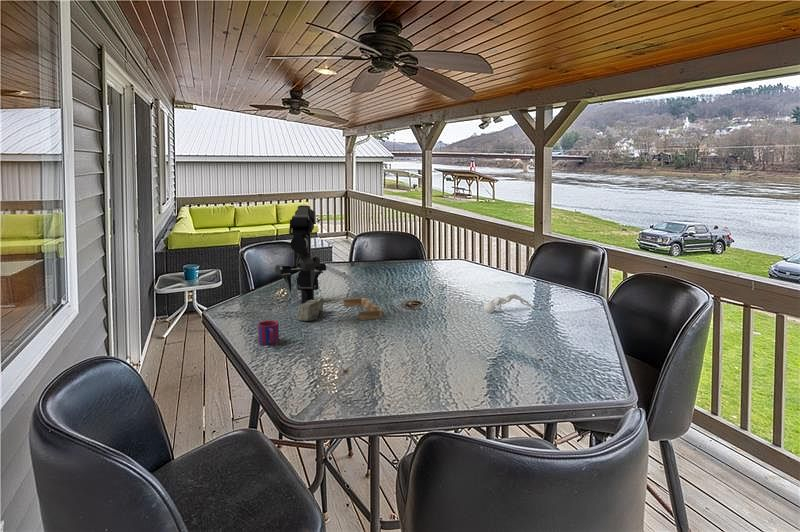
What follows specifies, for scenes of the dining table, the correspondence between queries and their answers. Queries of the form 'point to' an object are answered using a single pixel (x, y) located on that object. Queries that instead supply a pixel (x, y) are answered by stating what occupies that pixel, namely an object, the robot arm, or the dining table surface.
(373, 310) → the wooden u-shaped handle
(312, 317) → the rock
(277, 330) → the mug
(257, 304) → the dining table surface
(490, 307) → the figurine
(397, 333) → the dining table surface
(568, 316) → the dining table surface
